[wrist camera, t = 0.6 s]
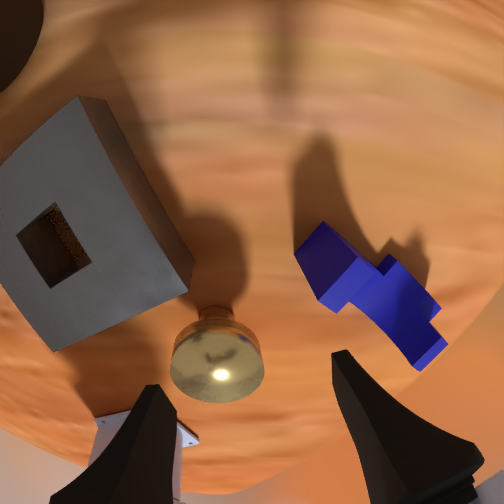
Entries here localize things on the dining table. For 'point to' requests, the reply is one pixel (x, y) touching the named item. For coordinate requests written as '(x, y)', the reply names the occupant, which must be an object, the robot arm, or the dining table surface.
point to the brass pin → (217, 358)
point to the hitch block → (85, 229)
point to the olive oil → (17, 36)
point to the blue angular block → (372, 293)
